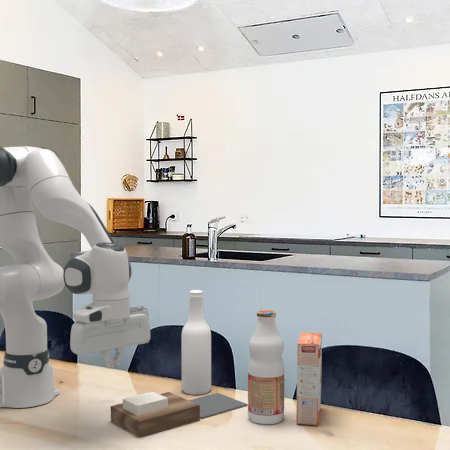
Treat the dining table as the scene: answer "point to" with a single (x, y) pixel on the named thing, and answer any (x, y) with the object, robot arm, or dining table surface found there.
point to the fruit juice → (266, 371)
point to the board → (157, 416)
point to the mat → (216, 404)
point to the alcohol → (196, 349)
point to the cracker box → (309, 378)
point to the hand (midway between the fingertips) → (112, 366)
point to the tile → (145, 403)
